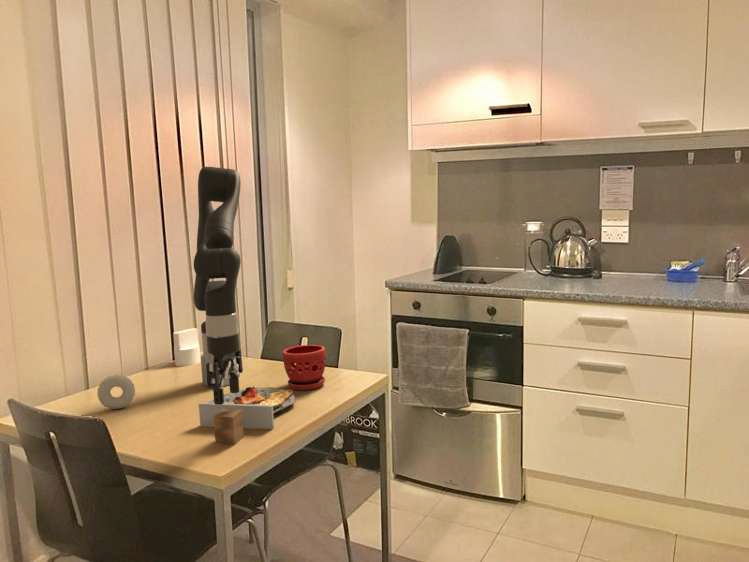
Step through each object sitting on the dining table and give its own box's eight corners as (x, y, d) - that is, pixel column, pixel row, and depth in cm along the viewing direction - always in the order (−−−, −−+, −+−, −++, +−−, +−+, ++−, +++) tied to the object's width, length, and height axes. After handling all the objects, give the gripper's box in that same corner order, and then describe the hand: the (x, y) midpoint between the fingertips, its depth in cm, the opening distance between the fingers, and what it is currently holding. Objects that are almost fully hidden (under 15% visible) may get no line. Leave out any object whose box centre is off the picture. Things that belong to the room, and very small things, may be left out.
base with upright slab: (190, 358, 227) (187, 327, 225) (205, 361, 222) (203, 329, 220) (170, 364, 219) (167, 332, 218) (185, 367, 214) (182, 334, 213)
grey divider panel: (200, 426, 156) (198, 403, 155) (202, 424, 157) (200, 402, 156) (272, 429, 152) (271, 406, 151) (274, 427, 153) (272, 405, 152)
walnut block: (215, 444, 144) (213, 416, 143) (224, 436, 149) (222, 409, 148) (234, 445, 143) (232, 417, 142) (243, 437, 148) (241, 409, 147)
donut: (98, 413, 169) (95, 379, 167) (99, 409, 172) (96, 375, 171) (136, 408, 172) (133, 374, 171) (136, 404, 175) (133, 371, 174)
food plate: (251, 389, 185) (250, 378, 185) (312, 400, 174) (311, 388, 173) (189, 417, 164) (188, 405, 164) (253, 432, 152) (252, 419, 152)
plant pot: (329, 379, 193) (328, 343, 192) (322, 392, 180) (320, 353, 179) (290, 379, 194) (288, 343, 193) (280, 392, 182) (277, 354, 180)
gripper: (221, 326, 150) (225, 388, 152) (193, 338, 136) (198, 407, 138) (249, 326, 148) (253, 389, 150) (223, 339, 134) (228, 408, 136)
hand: (227, 398), depth 144 cm, fingers open, 8 cm apart
